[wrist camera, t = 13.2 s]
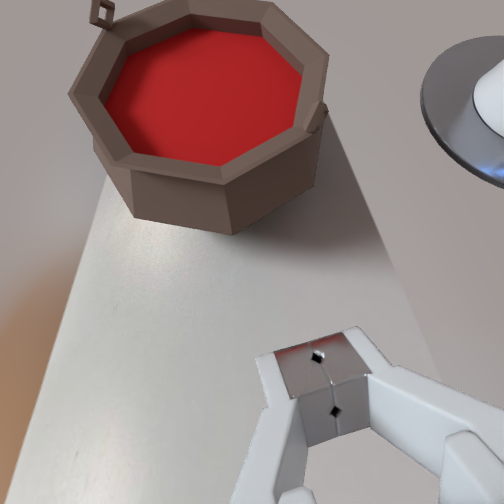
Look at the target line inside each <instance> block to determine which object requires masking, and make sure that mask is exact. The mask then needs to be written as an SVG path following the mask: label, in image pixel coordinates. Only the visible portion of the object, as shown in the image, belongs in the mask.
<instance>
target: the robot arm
mask: <svg viewBox="0 0 504 504" xmlns="http://www.w3.org/2000/svg"><path fill="white" fill-rule="evenodd" d="M474 103H475V106H476V109H477V111H478V113H479V114H480V116H481V117H482V119H483V120H484V121H485V123H486V124H487V125H488V126H489V127H490V128H491V129H493V130H494V131H495V132H496V133H498V134H499V135H501V136H502V137H504V59H503V60H502V61H501V62H500V63H499V64H497V65H496V66H495V67H494V68H493V69H491V70H490V71H489V72H487V73H486V74H485V75H483V76H482V77H481V78H480V79H479V80H478V82H477V84H476V86H475V89H474ZM256 363H257V367H258V371H259V374H260V378H261V382H262V386H263V390H264V394H265V397H266V401H267V405H268V407H266V408H263V411H262V414H261V417H260V420H259V422H258V425H257V428H256V431H255V434H254V436H253V439H252V442H251V445H250V448H249V450H248V453H247V456H246V459H245V462H244V464H243V467H242V470H241V473H240V476H239V478H238V481H237V484H236V487H235V489H234V492H233V495H232V498H231V501H230V503H229V504H317V503H316V500H315V498H314V495H313V492H312V490H310V489H308V488H306V487H304V486H303V483H304V476H305V469H306V462H307V456H308V447H311V446H314V445H317V444H319V443H322V442H325V441H327V440H330V439H333V438H335V437H338V436H341V435H345V434H348V433H351V432H355V431H358V430H361V429H365V428H368V427H371V429H372V430H373V431H375V432H376V433H377V434H379V435H380V436H382V437H383V438H384V439H386V440H387V441H388V442H390V443H391V444H393V445H394V446H395V447H397V448H398V449H399V450H401V451H402V452H404V453H405V454H406V455H408V456H409V457H411V458H412V459H413V460H415V461H416V462H417V463H419V464H420V465H422V466H423V467H424V468H426V469H427V470H429V471H430V472H431V473H433V474H434V475H435V476H437V477H438V478H440V479H441V483H440V493H439V503H438V504H504V409H502V408H500V407H497V406H495V405H492V404H490V403H488V402H485V401H483V400H480V399H478V398H476V397H473V396H471V395H469V394H466V393H464V392H462V391H459V390H457V389H454V388H452V387H449V386H447V385H445V384H442V383H440V382H438V381H435V380H433V379H431V378H428V377H426V376H423V375H421V374H419V373H416V372H414V371H412V370H409V369H407V368H404V367H402V366H400V365H398V366H394V367H393V366H392V364H391V363H390V362H389V361H388V360H387V359H386V357H385V356H384V355H383V354H382V353H381V351H380V350H379V349H378V348H377V347H376V346H375V344H374V343H373V342H372V341H371V340H370V339H369V337H368V336H367V335H366V334H365V333H364V332H363V330H362V329H361V328H360V327H358V326H355V327H352V328H349V329H346V330H343V331H340V332H337V333H334V334H331V335H328V336H324V337H321V338H318V339H315V340H312V341H308V342H306V343H302V344H298V345H295V346H291V347H288V348H284V349H280V350H277V351H273V352H271V353H267V354H264V355H260V356H256Z"/></svg>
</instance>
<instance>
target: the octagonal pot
mask: <svg viewBox="0 0 504 504" xmlns="http://www.w3.org/2000/svg"><path fill="white" fill-rule="evenodd" d="M100 6H101V7H103V8H105V9H106V13H105V19H104V20H103V19H101V18H98V15H99V8H100ZM114 10H115V4H114V3H113V2H111V1H109V0H92V2H91V11H90V17H89V21H90V22H89V23H90V24H93V25H95V26H98V27H100V28H103V29H102V31H101V33H100V35H99V37H98V39H97V40H96V42H95V44H94V46H93V48H92V50H91V52H90V54H89V55H88V57H87V59H86V61H85V63H84V64H83V66H82V68H81V70H80V72H79V74H78V76H77V77H76V79H75V81H74V83H73V85H72V87H71V89H70V90H69V92H68V96H69V97H70V99H71V101H72V102H73V104H74V106H75V107H76V109H77V111H78V112H79V114H80V115H81V117H82V119H83V120H84V122H85V124H86V125H87V127H88V129H89V130H90V132H91V133H92V135H93V148H94V151H95V153H96V155H97V156H98V158H99V160H100V161H101V163H102V165H103V166H104V168H105V170H106V171H107V173H108V175H109V176H110V178H111V180H112V181H113V183H114V185H115V186H116V188H117V190H118V191H119V193H120V195H121V196H122V198H123V200H124V201H125V203H126V205H127V207H128V208H129V210H130V212H131V213H132V215H133V217H134V218H138V219H143V220H149V221H154V222H160V223H165V224H171V225H177V226H182V227H188V228H193V229H199V230H205V231H210V232H216V233H221V234H227V235H234V234H236V233H237V232H239V231H241V230H242V229H244V228H246V227H247V226H249V225H251V224H252V223H254V222H255V221H257V220H259V219H260V218H262V217H264V216H265V215H267V214H269V213H270V212H272V211H274V210H275V209H277V208H279V207H280V206H282V205H283V204H285V203H287V202H288V201H290V200H292V199H293V198H295V197H297V196H298V195H300V194H302V193H303V192H305V191H306V190H308V189H310V188H311V187H313V186H314V182H315V175H316V169H317V162H318V155H319V148H320V141H321V134H322V127H323V122H324V120H325V118H326V116H327V114H328V112H329V111H328V108H327V105H326V104H325V103H323V102H322V100H323V94H324V87H325V80H326V73H327V67H328V61H329V54H328V53H327V52H326V51H325V50H324V49H323V48H322V47H320V46H319V45H318V44H317V43H316V42H315V41H314V40H313V39H312V38H311V37H309V35H307V34H306V33H305V32H304V31H303V30H302V29H301V28H300V27H299V26H298V25H297V24H295V23H294V22H293V21H292V20H291V19H290V18H289V17H288V16H287V15H286V14H285V13H284V12H283V11H282V10H280V9H279V8H278V7H277V6H276V5H275V4H274V3H273V2H267V1H258V0H165V1H162V2H160V3H157V4H155V5H153V6H150V7H148V8H145V9H143V10H140V11H138V12H135V13H133V14H131V15H128V16H126V17H123V18H121V19H118V20H116V21H114V22H113V16H114Z"/></svg>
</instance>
